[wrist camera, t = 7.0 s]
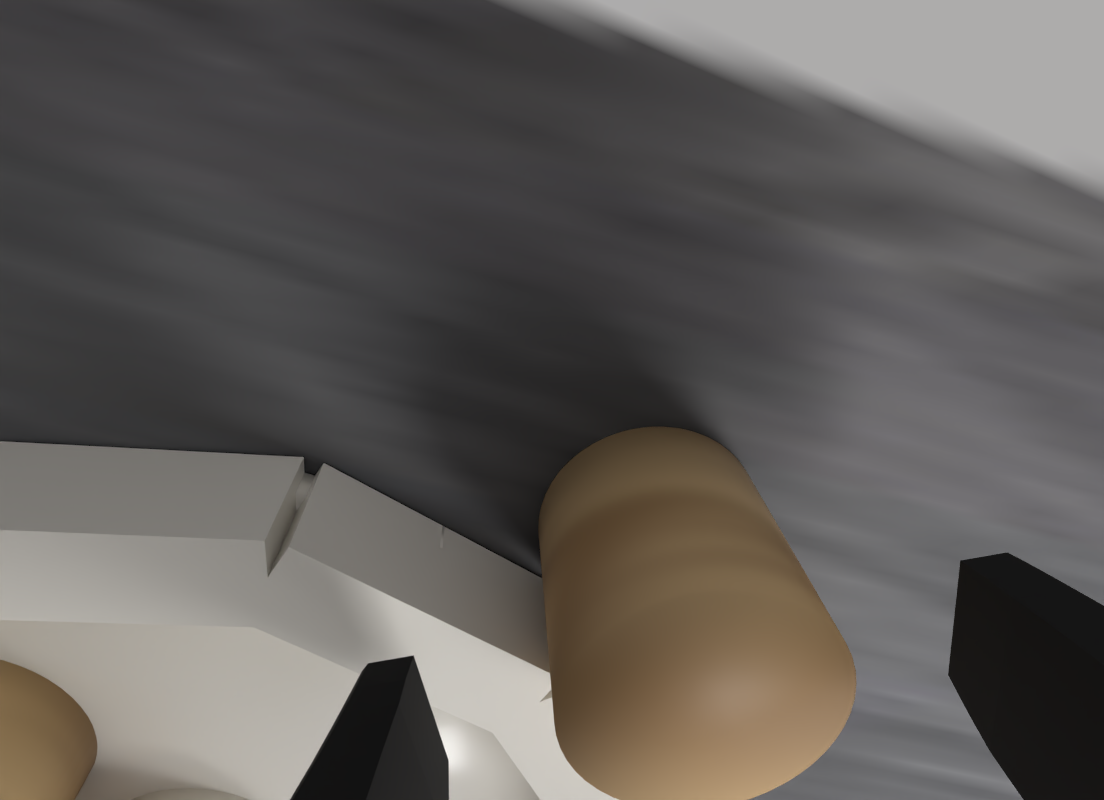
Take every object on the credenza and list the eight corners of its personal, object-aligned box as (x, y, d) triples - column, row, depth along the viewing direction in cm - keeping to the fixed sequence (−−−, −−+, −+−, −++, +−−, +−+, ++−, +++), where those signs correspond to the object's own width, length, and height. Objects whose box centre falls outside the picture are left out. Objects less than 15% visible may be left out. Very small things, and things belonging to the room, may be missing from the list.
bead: (731, 611, 14) (813, 811, 10) (528, 604, 13) (539, 809, 10) (778, 433, 12) (894, 595, 9) (550, 418, 12) (572, 583, 8)
